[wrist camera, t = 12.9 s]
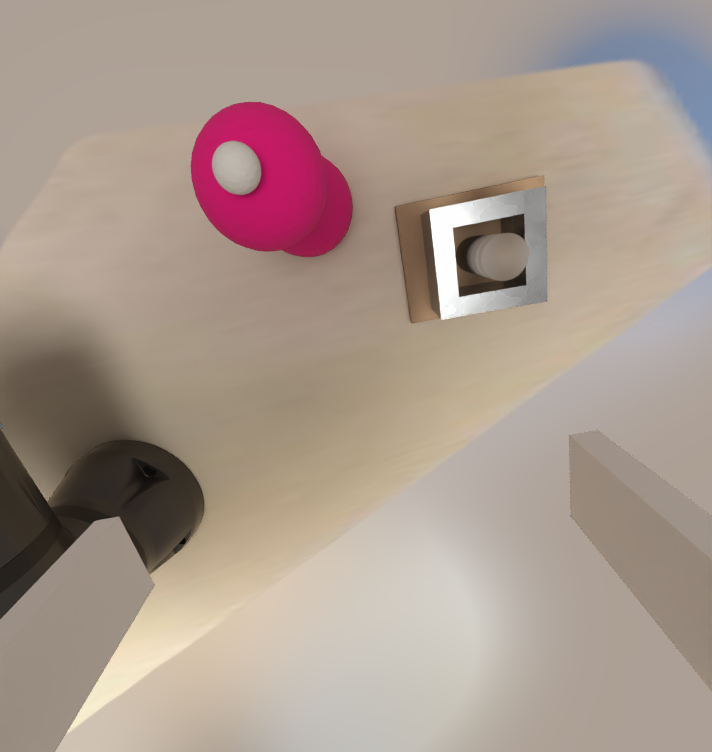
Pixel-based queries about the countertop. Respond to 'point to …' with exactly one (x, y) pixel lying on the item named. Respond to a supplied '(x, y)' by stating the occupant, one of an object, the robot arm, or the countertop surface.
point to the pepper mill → (269, 182)
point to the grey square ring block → (517, 216)
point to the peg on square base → (461, 246)
